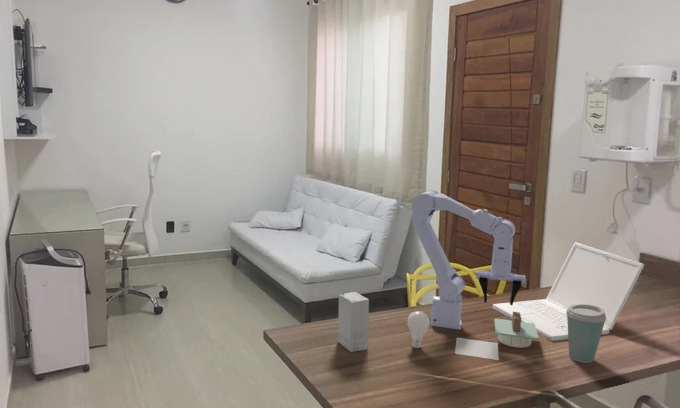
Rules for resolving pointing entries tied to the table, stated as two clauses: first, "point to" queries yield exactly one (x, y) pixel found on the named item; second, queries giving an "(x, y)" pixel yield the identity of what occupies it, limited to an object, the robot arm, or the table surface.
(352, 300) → the skincare box
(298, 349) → the table surface
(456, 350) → the mat
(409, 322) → the lightbulb
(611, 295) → the laptop
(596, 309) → the disposable coffee cup
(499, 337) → the bowl
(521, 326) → the lid
